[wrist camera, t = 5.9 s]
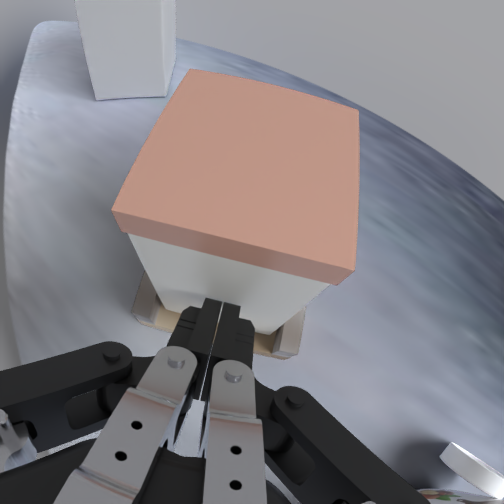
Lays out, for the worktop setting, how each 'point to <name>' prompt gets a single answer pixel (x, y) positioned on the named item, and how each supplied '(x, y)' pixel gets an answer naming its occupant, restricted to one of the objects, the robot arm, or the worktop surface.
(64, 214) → the worktop surface
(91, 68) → the milk carton
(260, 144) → the pink-topped white box
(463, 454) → the spread jar
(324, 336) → the worktop surface
